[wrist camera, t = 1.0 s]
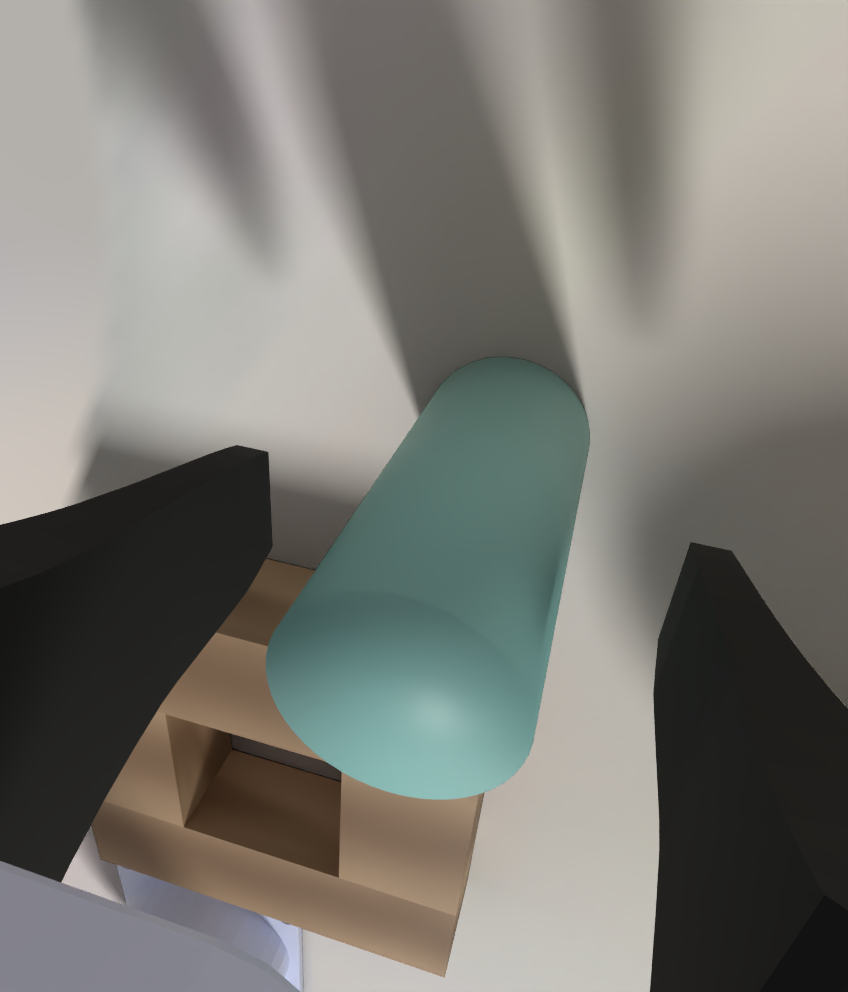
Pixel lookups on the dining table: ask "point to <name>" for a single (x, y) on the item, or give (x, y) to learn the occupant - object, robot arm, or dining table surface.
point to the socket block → (283, 809)
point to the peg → (442, 592)
